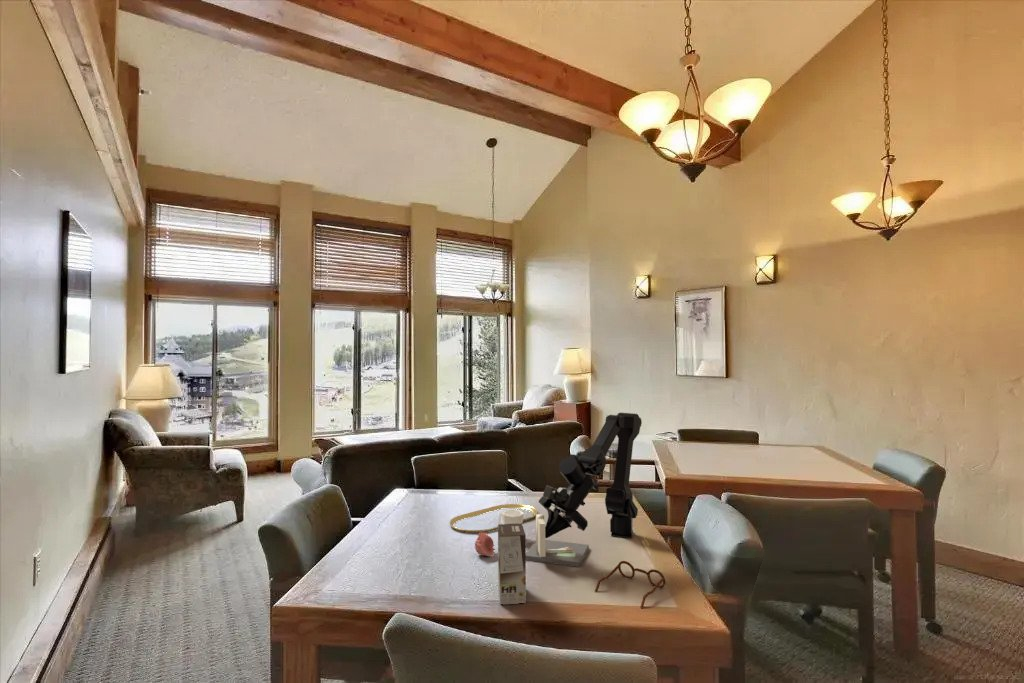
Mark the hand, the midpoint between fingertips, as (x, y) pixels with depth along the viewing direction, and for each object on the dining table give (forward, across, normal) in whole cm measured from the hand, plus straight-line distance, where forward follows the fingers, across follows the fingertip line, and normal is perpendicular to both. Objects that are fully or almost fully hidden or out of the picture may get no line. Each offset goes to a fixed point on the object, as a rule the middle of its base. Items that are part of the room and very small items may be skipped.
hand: (544, 536), depth 146 cm
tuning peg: (+1, -1, +7) cm, 7 cm away
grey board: (+1, -4, +10) cm, 11 cm away
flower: (+14, -14, -4) cm, 20 cm away
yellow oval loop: (+3, -42, +8) cm, 43 cm away
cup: (+5, -23, +6) cm, 25 cm away
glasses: (-2, +24, +13) cm, 28 cm away
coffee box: (+17, +13, -7) cm, 23 cm away
